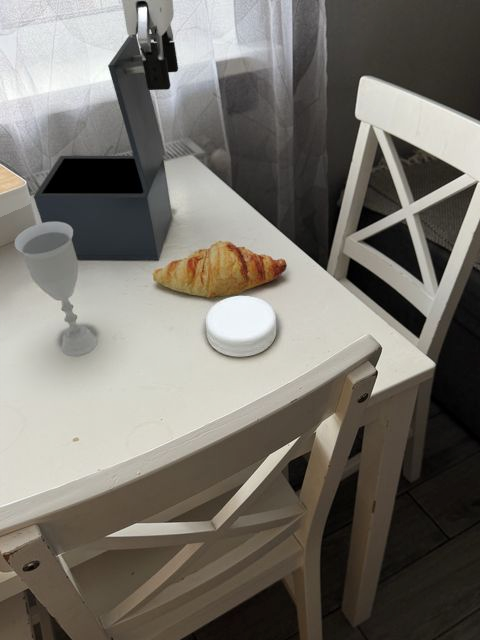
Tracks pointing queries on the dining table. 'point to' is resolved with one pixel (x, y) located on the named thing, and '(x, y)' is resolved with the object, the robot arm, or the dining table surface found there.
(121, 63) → the lid
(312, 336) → the dining table surface
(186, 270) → the croissant
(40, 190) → the dark grey box
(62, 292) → the chalice
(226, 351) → the white short cylinder
